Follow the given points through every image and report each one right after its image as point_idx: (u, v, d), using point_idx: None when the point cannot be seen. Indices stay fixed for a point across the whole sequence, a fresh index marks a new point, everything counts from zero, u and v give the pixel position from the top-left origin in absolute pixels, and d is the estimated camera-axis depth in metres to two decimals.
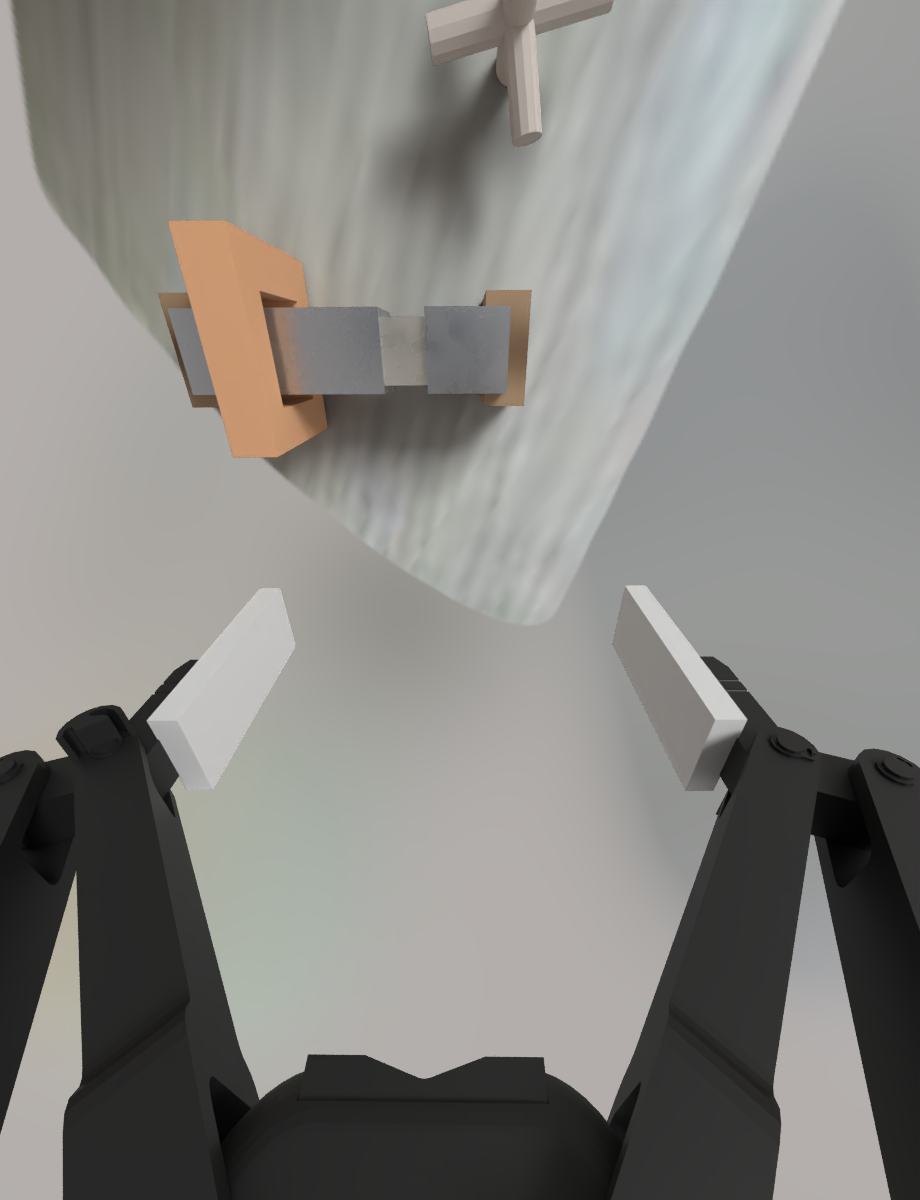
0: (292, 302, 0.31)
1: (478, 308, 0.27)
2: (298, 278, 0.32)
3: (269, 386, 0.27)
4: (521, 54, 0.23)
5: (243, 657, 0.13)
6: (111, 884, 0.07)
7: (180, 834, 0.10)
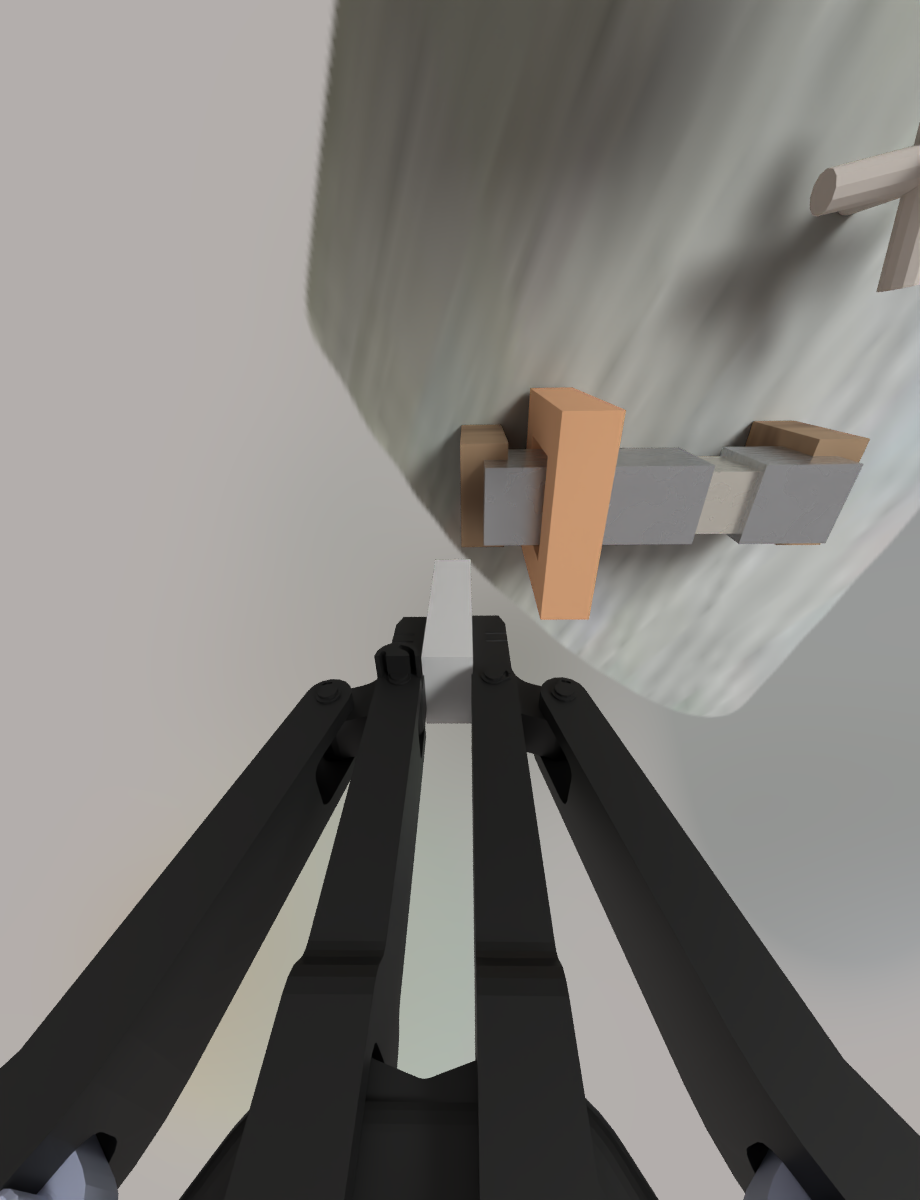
0: None
1: (826, 466, 0.24)
2: None
3: None
4: None
5: None
6: (368, 798, 0.08)
7: (420, 775, 0.11)
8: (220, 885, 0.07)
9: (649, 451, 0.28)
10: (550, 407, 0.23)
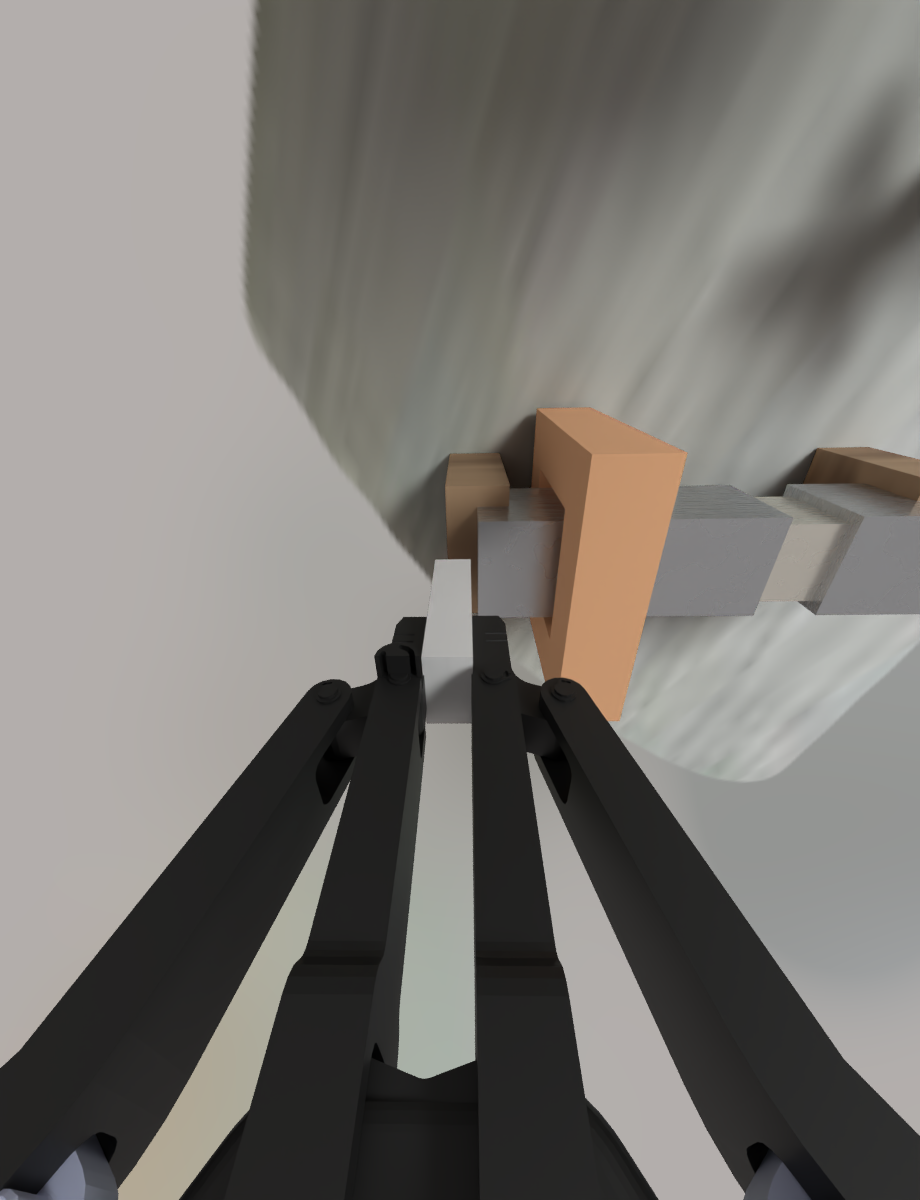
0: None
1: None
2: None
3: None
4: None
5: None
6: (368, 798, 0.08)
7: (420, 775, 0.11)
8: (220, 885, 0.07)
9: (694, 492, 0.21)
10: (569, 442, 0.16)
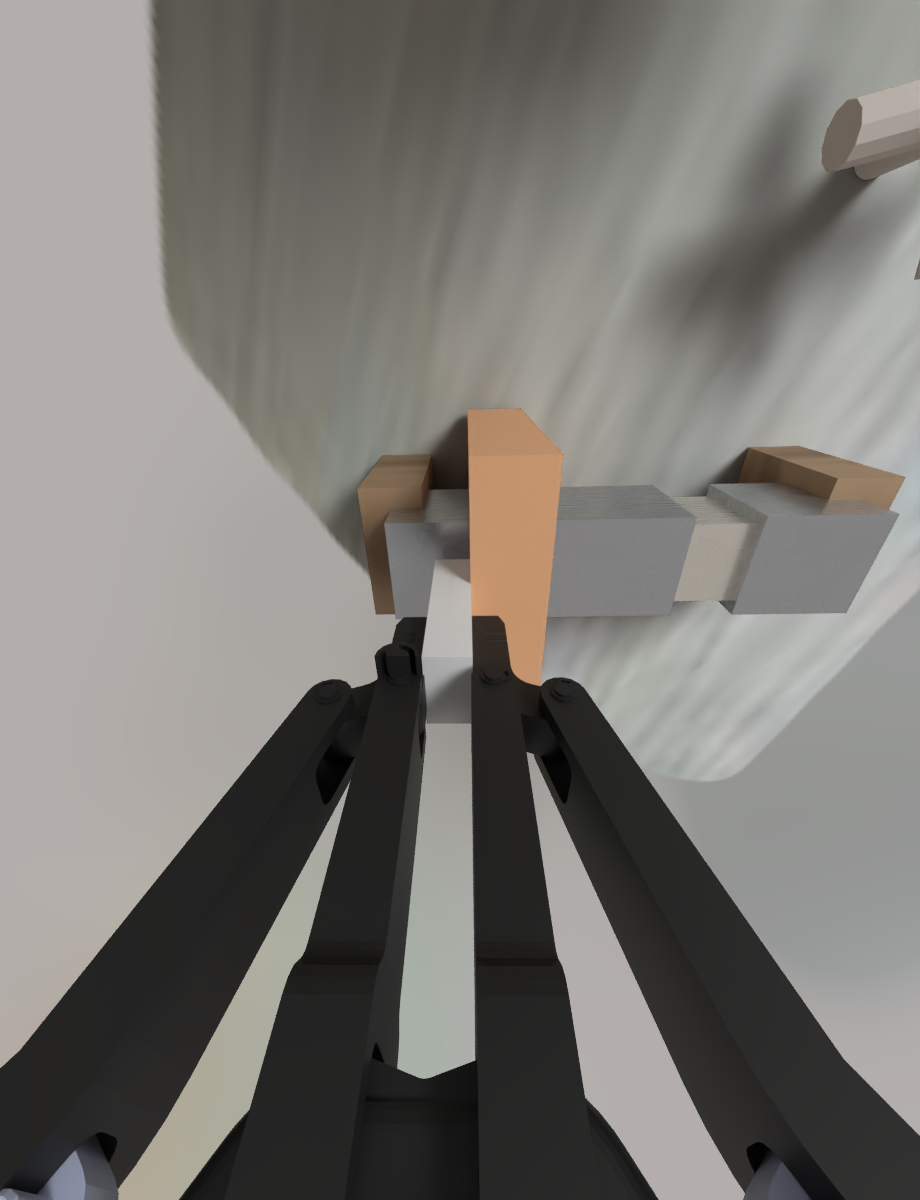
0: None
1: (849, 517, 0.18)
2: None
3: None
4: None
5: None
6: (368, 798, 0.08)
7: (420, 775, 0.11)
8: (220, 885, 0.07)
9: (613, 492, 0.21)
10: (468, 444, 0.16)
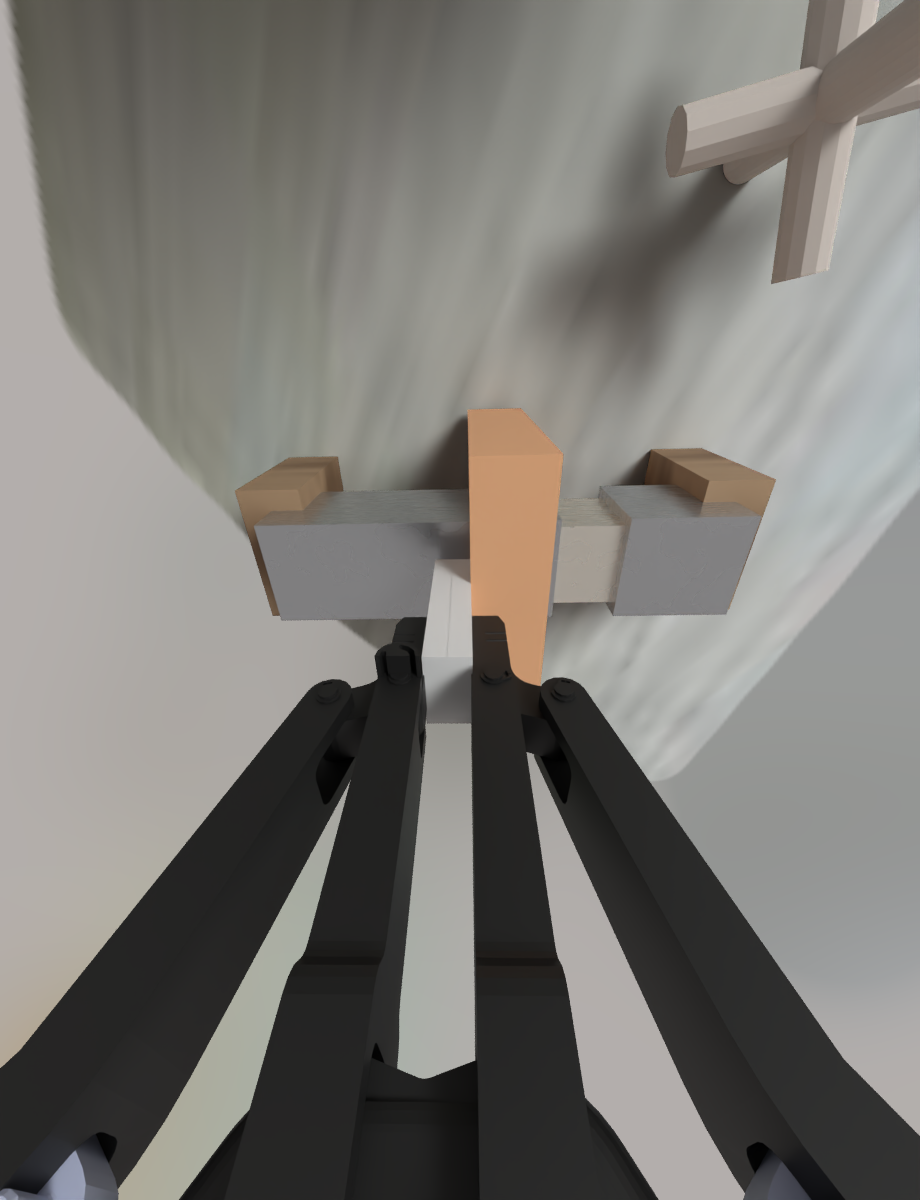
0: None
1: (712, 520, 0.18)
2: None
3: None
4: (830, 164, 0.14)
5: None
6: (368, 798, 0.08)
7: (420, 775, 0.11)
8: (220, 885, 0.07)
9: None
10: None
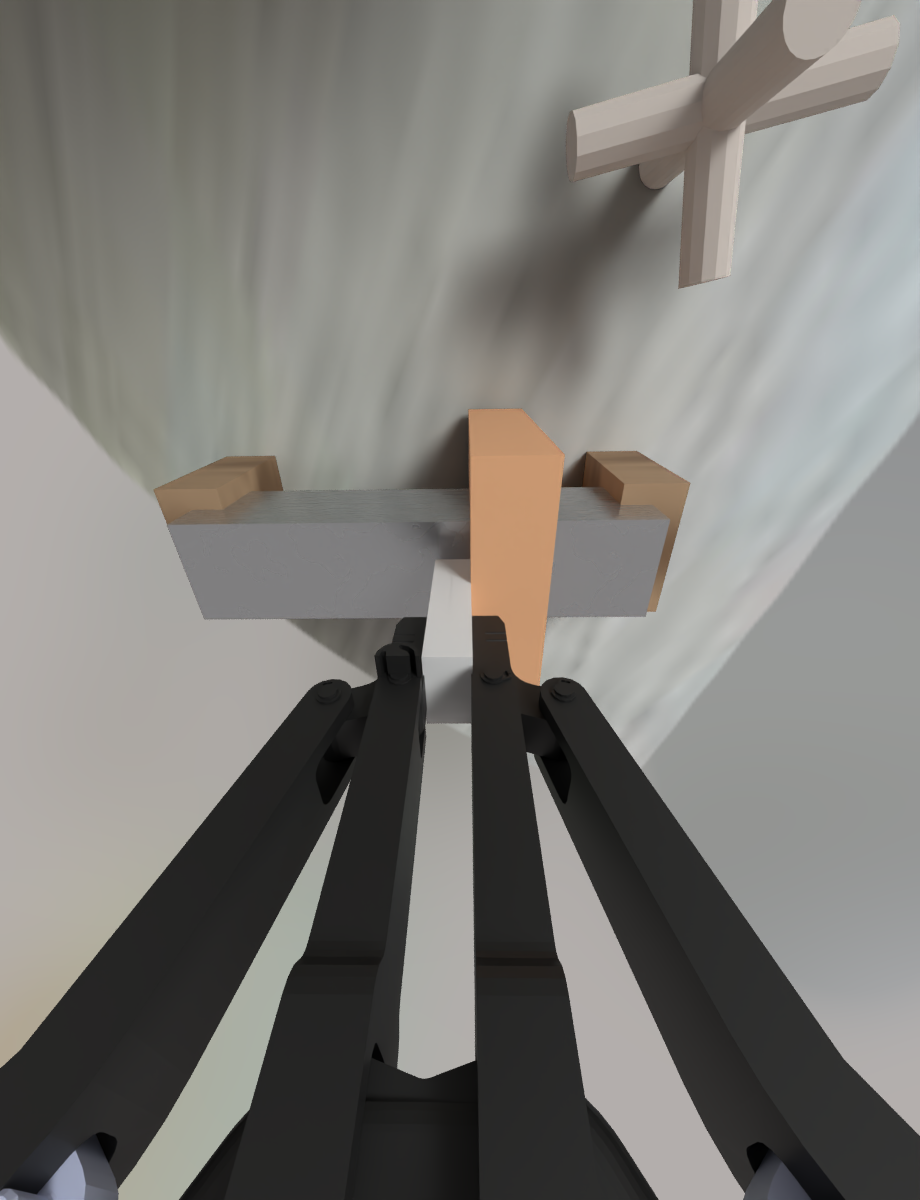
0: None
1: (621, 522, 0.18)
2: None
3: None
4: (720, 171, 0.15)
5: None
6: (368, 798, 0.08)
7: (420, 775, 0.11)
8: (220, 885, 0.07)
9: (425, 495, 0.21)
10: None
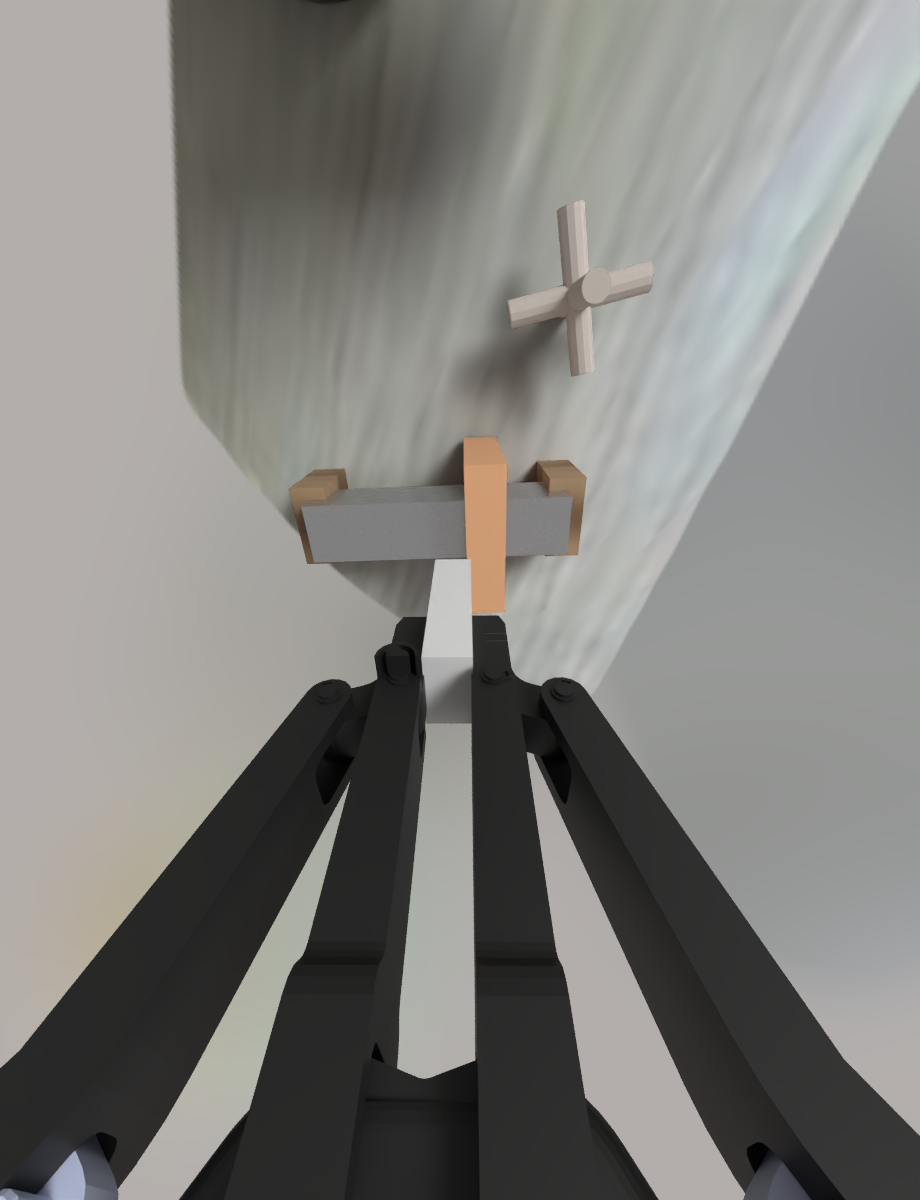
0: None
1: (546, 499, 0.34)
2: None
3: None
4: (580, 326, 0.30)
5: None
6: (368, 798, 0.08)
7: (420, 775, 0.11)
8: (220, 885, 0.07)
9: (439, 489, 0.37)
10: None
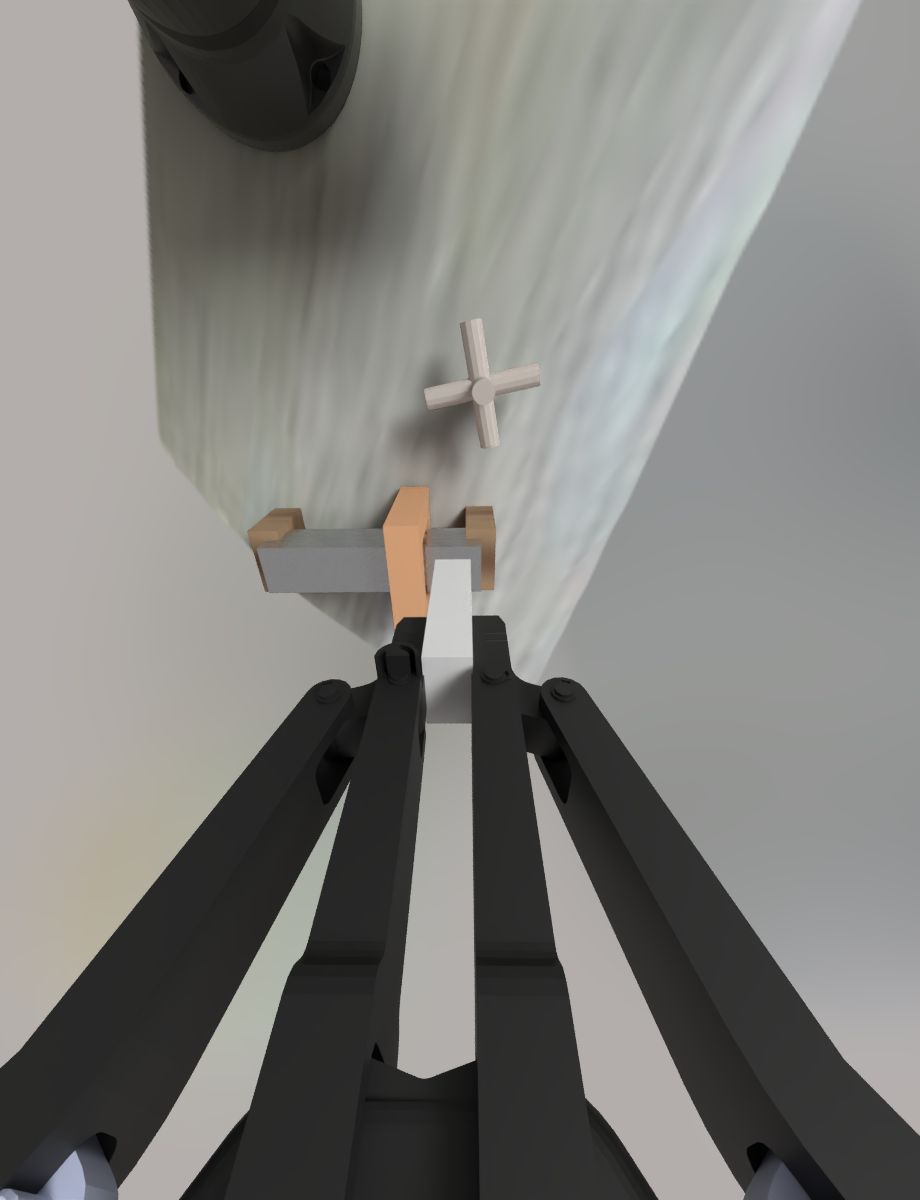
0: None
1: (460, 547, 0.40)
2: None
3: (424, 597, 0.41)
4: (483, 412, 0.37)
5: None
6: (368, 798, 0.08)
7: (420, 775, 0.11)
8: (220, 885, 0.07)
9: (376, 532, 0.44)
10: None
